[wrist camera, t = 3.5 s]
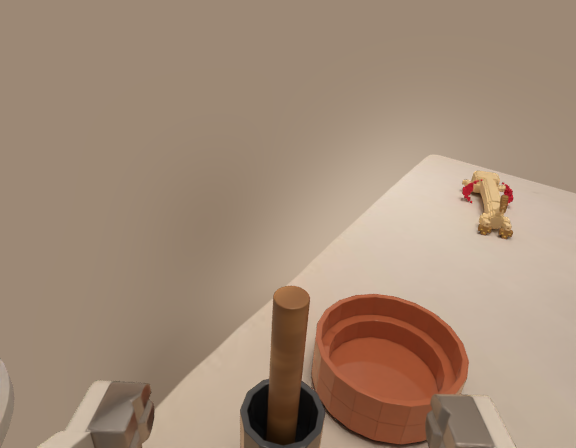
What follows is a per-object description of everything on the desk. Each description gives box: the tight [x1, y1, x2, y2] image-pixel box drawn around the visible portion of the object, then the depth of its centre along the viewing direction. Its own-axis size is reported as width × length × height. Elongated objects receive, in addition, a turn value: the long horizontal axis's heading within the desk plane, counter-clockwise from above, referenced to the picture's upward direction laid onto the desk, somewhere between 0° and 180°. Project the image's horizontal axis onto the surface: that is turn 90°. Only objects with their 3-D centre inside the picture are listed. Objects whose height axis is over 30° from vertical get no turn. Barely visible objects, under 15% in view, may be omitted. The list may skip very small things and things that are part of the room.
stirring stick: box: [266, 286, 310, 446], centre depth 29 cm, size 2×2×20 cm
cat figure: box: [462, 171, 513, 239], centre depth 83 cm, size 10×9×25 cm
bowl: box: [311, 294, 469, 444], centre depth 43 cm, size 15×15×6 cm
